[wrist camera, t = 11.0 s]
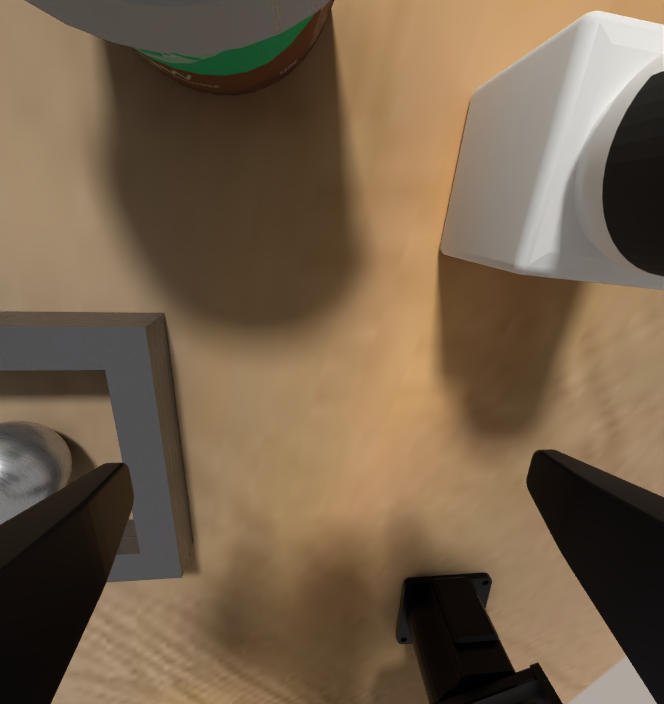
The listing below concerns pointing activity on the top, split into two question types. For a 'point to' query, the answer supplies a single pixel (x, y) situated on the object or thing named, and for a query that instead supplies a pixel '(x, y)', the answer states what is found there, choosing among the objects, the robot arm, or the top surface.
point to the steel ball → (30, 466)
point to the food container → (205, 36)
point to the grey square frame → (122, 419)
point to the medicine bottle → (568, 159)
